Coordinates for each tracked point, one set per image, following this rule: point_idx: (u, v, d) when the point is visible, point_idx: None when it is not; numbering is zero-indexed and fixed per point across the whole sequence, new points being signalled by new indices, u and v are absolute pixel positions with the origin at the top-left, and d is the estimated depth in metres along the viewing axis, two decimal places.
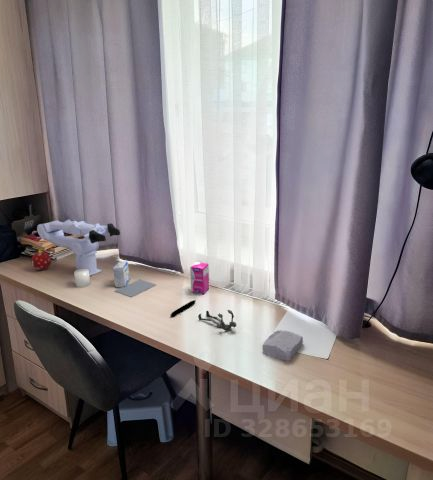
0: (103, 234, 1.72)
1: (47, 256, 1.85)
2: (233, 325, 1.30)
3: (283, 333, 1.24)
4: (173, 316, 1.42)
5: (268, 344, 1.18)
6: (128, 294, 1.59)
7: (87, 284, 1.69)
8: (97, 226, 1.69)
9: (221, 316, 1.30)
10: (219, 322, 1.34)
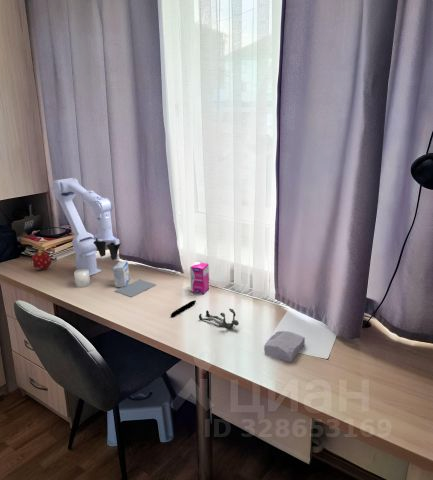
0: (111, 238, 1.69)
1: (47, 256, 1.85)
2: (236, 323, 1.31)
3: (285, 334, 1.24)
4: (173, 316, 1.42)
5: (270, 345, 1.18)
6: (128, 294, 1.59)
7: (87, 284, 1.69)
8: (100, 240, 1.67)
9: (223, 315, 1.31)
10: (221, 321, 1.35)
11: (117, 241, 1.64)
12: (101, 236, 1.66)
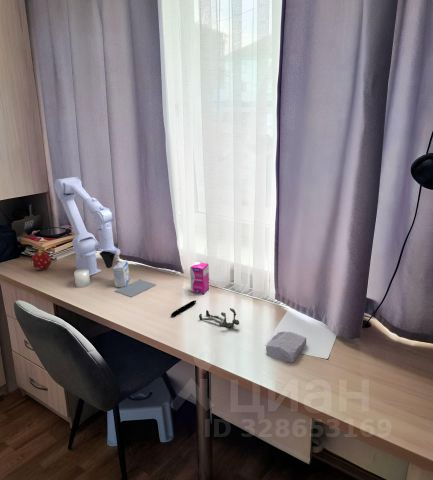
0: None
1: (47, 256, 1.85)
2: (236, 323, 1.32)
3: (286, 334, 1.23)
4: (173, 316, 1.41)
5: (272, 345, 1.18)
6: (128, 294, 1.59)
7: (87, 284, 1.69)
8: (101, 250, 1.68)
9: (224, 315, 1.31)
10: (221, 321, 1.35)
11: (118, 251, 1.66)
12: (102, 246, 1.67)
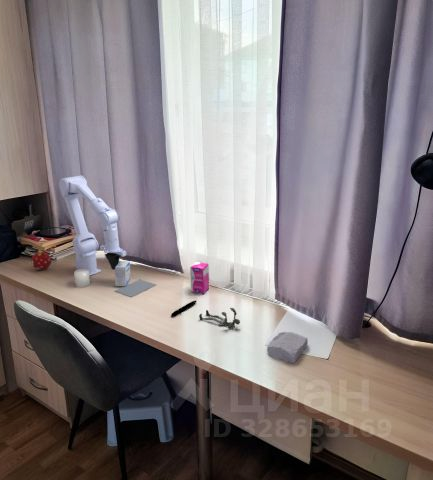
0: None
1: (47, 256, 1.85)
2: (237, 322, 1.32)
3: (288, 334, 1.23)
4: (174, 316, 1.41)
5: (273, 346, 1.18)
6: (128, 294, 1.59)
7: (87, 284, 1.69)
8: None
9: (225, 314, 1.31)
10: (222, 320, 1.35)
11: (124, 253, 1.64)
12: (108, 248, 1.65)
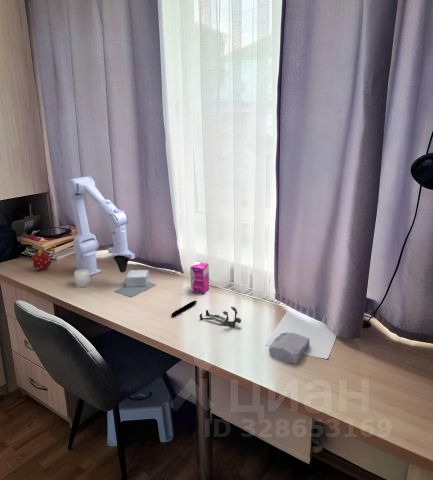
0: None
1: (47, 256, 1.85)
2: (238, 321, 1.33)
3: (289, 335, 1.23)
4: (174, 316, 1.41)
5: (275, 346, 1.17)
6: (128, 294, 1.59)
7: (87, 284, 1.69)
8: None
9: (226, 313, 1.32)
10: (223, 320, 1.36)
11: (133, 255, 1.61)
12: (116, 250, 1.62)
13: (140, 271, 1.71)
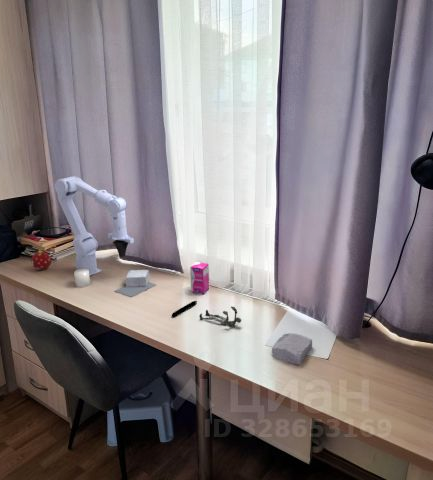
0: None
1: (47, 256, 1.85)
2: (238, 321, 1.33)
3: (292, 336, 1.22)
4: (174, 316, 1.41)
5: (278, 347, 1.17)
6: (128, 294, 1.59)
7: (87, 284, 1.69)
8: None
9: (226, 313, 1.32)
10: (223, 319, 1.36)
11: (131, 240, 1.67)
12: (116, 235, 1.68)
13: (140, 271, 1.71)
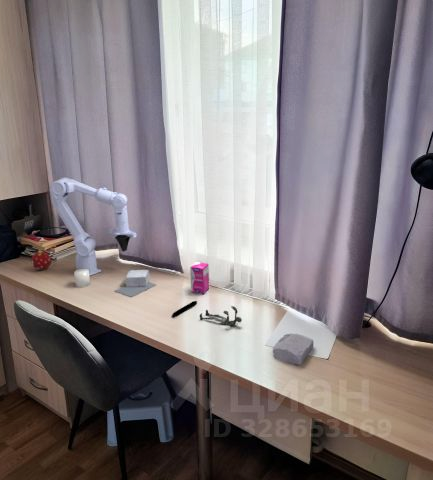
0: None
1: (47, 256, 1.85)
2: (239, 320, 1.33)
3: (293, 336, 1.22)
4: (174, 316, 1.41)
5: (279, 348, 1.16)
6: (128, 294, 1.59)
7: (87, 284, 1.69)
8: None
9: (227, 313, 1.32)
10: (223, 319, 1.36)
11: (134, 234, 1.73)
12: (118, 230, 1.74)
13: (140, 271, 1.71)
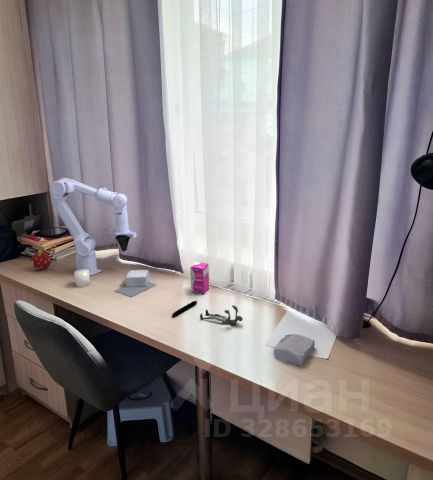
0: None
1: (47, 256, 1.85)
2: (240, 319, 1.34)
3: (294, 337, 1.22)
4: (174, 316, 1.41)
5: (280, 348, 1.16)
6: (128, 294, 1.59)
7: (87, 284, 1.69)
8: None
9: (228, 312, 1.33)
10: (224, 318, 1.36)
11: (134, 234, 1.73)
12: (118, 230, 1.74)
13: (140, 271, 1.71)
